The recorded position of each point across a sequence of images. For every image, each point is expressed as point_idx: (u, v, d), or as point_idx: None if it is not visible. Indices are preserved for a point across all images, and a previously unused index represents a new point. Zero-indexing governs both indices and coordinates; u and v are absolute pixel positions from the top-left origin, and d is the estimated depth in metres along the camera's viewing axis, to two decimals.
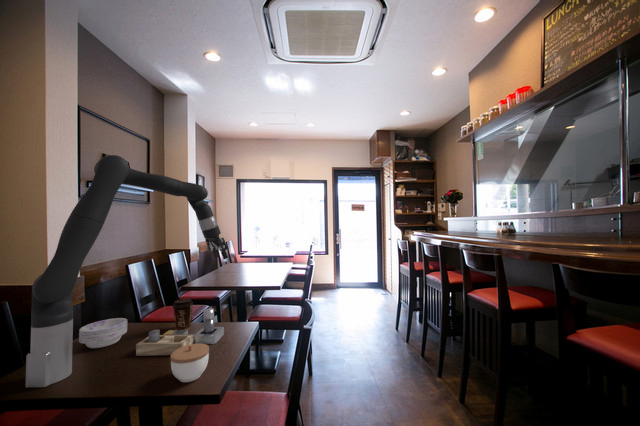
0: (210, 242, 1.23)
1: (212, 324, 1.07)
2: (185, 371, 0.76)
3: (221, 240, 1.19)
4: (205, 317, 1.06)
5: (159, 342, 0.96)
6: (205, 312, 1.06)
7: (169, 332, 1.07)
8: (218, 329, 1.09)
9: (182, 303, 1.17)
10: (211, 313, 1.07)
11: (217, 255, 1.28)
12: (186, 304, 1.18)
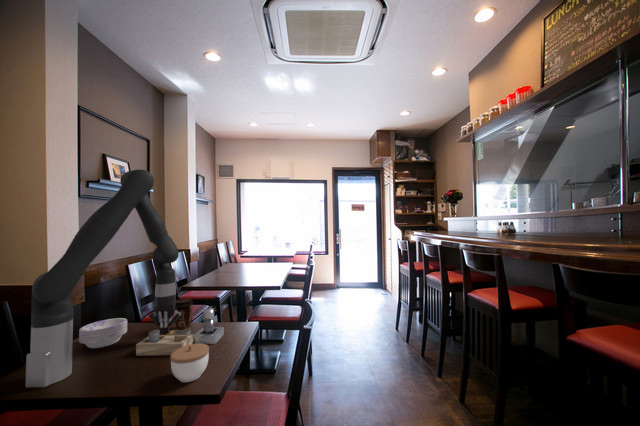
0: (160, 311, 1.07)
1: (212, 324, 1.07)
2: (185, 371, 0.76)
3: (179, 315, 1.08)
4: (205, 317, 1.06)
5: (159, 342, 0.96)
6: (205, 312, 1.06)
7: (172, 332, 1.07)
8: (218, 329, 1.09)
9: (182, 303, 1.17)
10: (211, 313, 1.07)
11: None
12: (186, 304, 1.18)
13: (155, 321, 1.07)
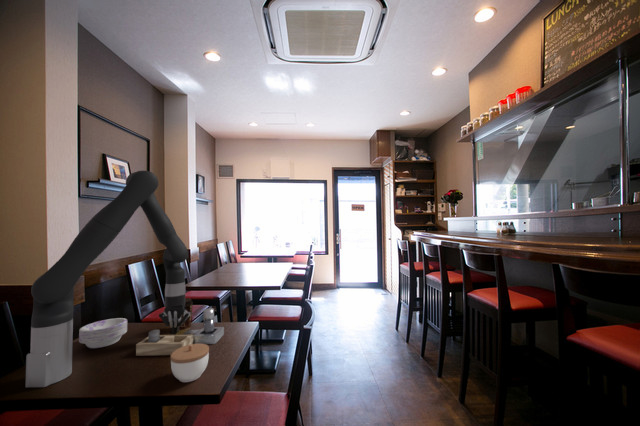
0: (170, 311, 1.07)
1: (212, 324, 1.07)
2: (185, 371, 0.76)
3: (188, 315, 1.08)
4: (205, 317, 1.06)
5: (159, 342, 0.96)
6: (205, 312, 1.06)
7: (181, 332, 1.07)
8: (218, 329, 1.09)
9: None
10: (211, 313, 1.07)
11: None
12: (186, 304, 1.18)
13: (165, 321, 1.07)
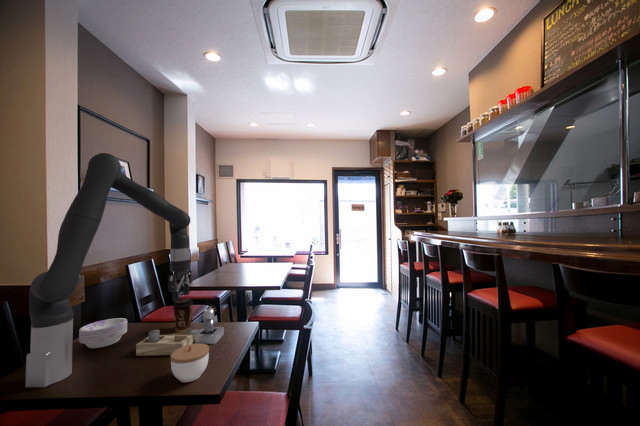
0: None
1: (212, 324, 1.07)
2: (185, 371, 0.76)
3: (170, 278, 1.03)
4: (205, 317, 1.06)
5: (159, 342, 0.96)
6: (205, 312, 1.06)
7: (181, 332, 1.07)
8: (218, 329, 1.09)
9: (182, 303, 1.17)
10: (211, 313, 1.07)
11: (186, 292, 1.13)
12: (186, 304, 1.18)
13: None
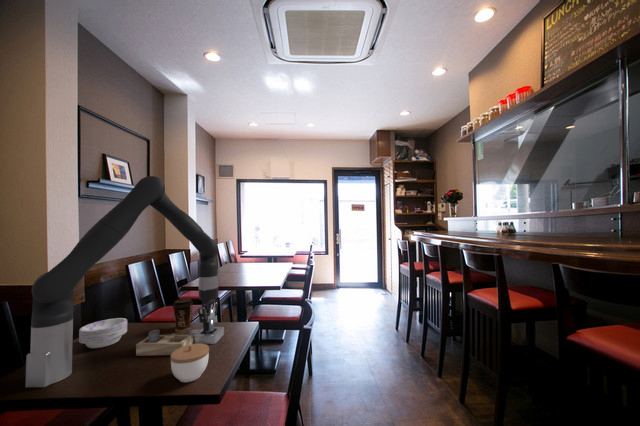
0: None
1: (212, 324, 1.07)
2: (185, 371, 0.76)
3: (200, 311, 1.02)
4: None
5: (159, 342, 0.96)
6: None
7: (181, 332, 1.07)
8: (218, 329, 1.09)
9: (182, 303, 1.17)
10: (211, 313, 1.07)
11: None
12: (186, 304, 1.18)
13: None
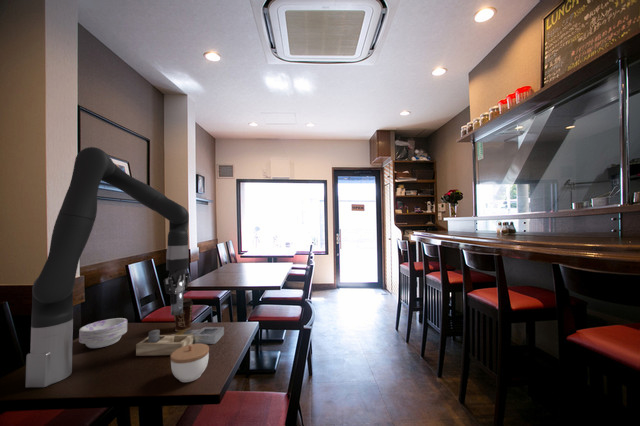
0: None
1: (180, 297, 0.99)
2: (185, 371, 0.76)
3: (166, 282, 0.94)
4: None
5: (159, 342, 0.96)
6: (173, 284, 0.98)
7: (181, 332, 1.07)
8: (218, 329, 1.09)
9: None
10: (180, 285, 0.99)
11: None
12: (186, 304, 1.18)
13: None
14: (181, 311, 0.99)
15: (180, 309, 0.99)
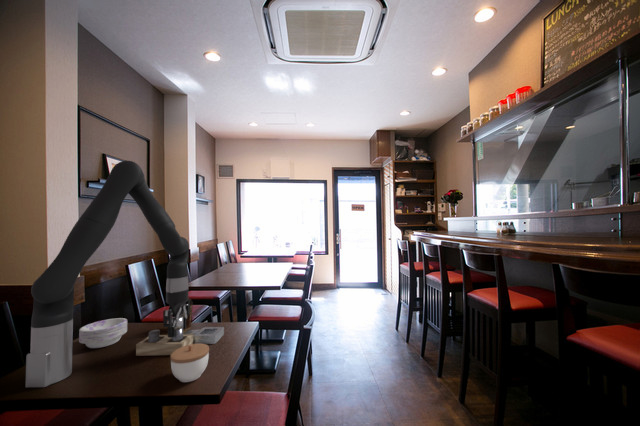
0: None
1: (181, 333, 0.98)
2: (185, 371, 0.76)
3: (166, 313, 0.93)
4: None
5: (159, 342, 0.96)
6: None
7: None
8: (218, 329, 1.09)
9: None
10: (180, 321, 0.98)
11: (183, 326, 1.02)
12: None
13: None
14: None
15: None
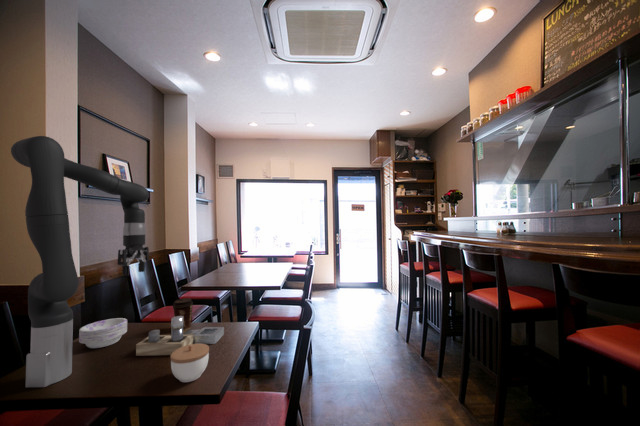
0: None
1: (181, 333, 0.98)
2: (185, 371, 0.76)
3: (120, 252, 1.00)
4: (173, 326, 0.97)
5: (159, 342, 0.96)
6: (173, 320, 0.97)
7: None
8: (218, 329, 1.09)
9: (182, 303, 1.17)
10: (180, 321, 0.98)
11: (141, 269, 1.11)
12: (186, 304, 1.18)
13: None
14: None
15: None
